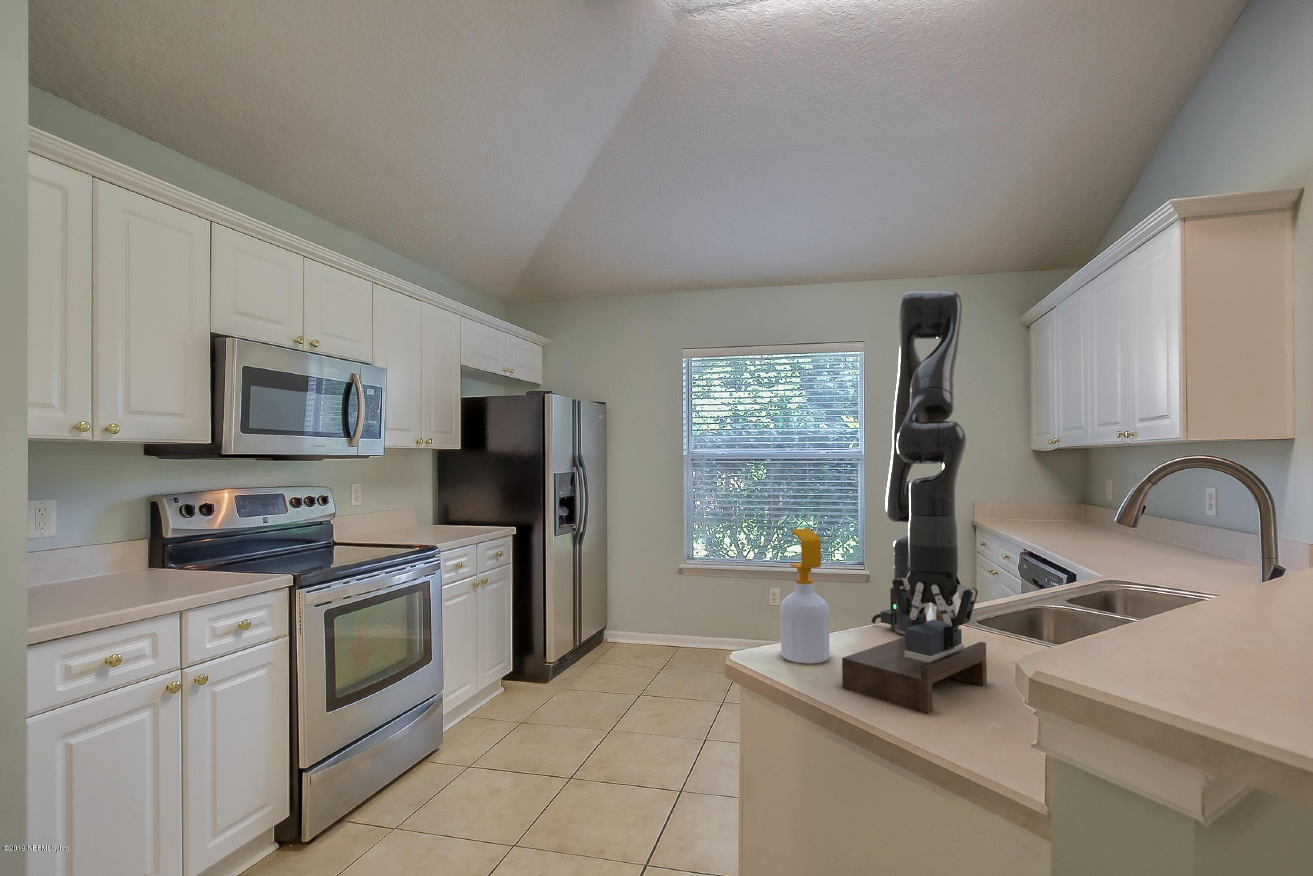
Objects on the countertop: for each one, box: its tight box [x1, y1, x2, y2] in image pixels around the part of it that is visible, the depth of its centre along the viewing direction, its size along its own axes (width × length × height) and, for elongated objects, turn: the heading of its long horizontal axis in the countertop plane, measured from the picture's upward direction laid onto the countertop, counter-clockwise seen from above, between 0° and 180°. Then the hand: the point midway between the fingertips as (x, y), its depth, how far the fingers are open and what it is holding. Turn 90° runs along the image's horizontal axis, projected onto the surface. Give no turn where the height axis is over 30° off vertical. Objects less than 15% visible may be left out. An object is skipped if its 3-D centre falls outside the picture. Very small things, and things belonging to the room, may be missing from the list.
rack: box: [841, 636, 988, 715], centre depth 111 cm, size 15×20×7 cm
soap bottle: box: [780, 528, 830, 665], centre depth 128 cm, size 9×9×25 cm
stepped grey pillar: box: [904, 620, 965, 663], centre depth 109 cm, size 11×4×4 cm, turn 130°
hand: (934, 645), depth 109 cm, fingers closed on stepped grey pillar, 4 cm apart
